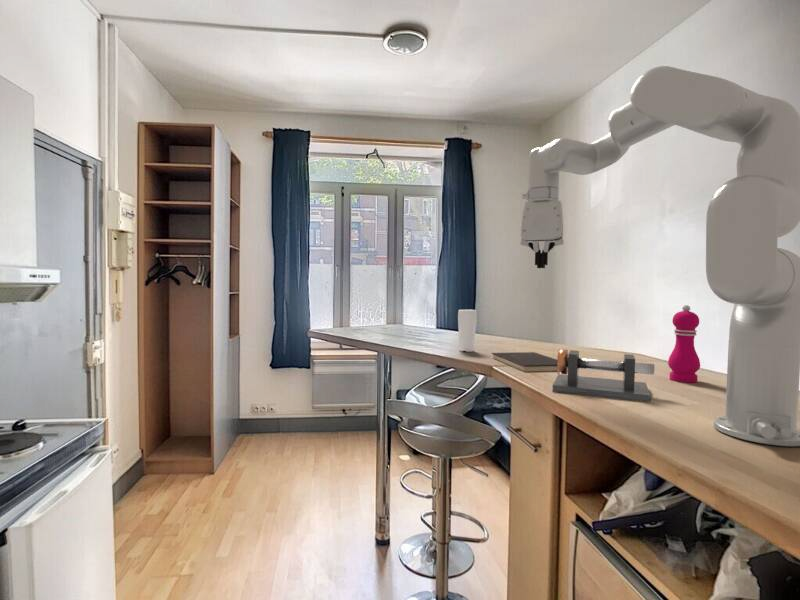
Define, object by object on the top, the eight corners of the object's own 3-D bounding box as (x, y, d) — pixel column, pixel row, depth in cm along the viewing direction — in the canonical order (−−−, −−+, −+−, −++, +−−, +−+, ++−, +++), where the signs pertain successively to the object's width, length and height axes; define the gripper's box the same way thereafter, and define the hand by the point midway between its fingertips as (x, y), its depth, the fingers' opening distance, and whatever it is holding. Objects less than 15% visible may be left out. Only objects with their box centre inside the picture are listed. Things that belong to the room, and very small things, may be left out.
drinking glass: (454, 349, 167) (455, 309, 166) (470, 349, 169) (471, 309, 168) (462, 352, 161) (463, 310, 160) (479, 352, 163) (480, 310, 162)
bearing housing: (645, 388, 109) (646, 353, 109) (650, 402, 97) (652, 362, 96) (558, 379, 118) (559, 347, 117) (552, 391, 105) (553, 355, 104)
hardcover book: (523, 373, 128) (523, 365, 128) (491, 359, 151) (491, 352, 151) (574, 372, 131) (574, 364, 131) (535, 358, 154) (536, 352, 154)
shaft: (652, 379, 105) (653, 354, 105) (654, 385, 100) (655, 358, 99) (559, 371, 114) (560, 347, 113) (556, 375, 108) (557, 350, 108)
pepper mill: (704, 384, 115) (708, 306, 115) (673, 382, 117) (676, 305, 116) (692, 378, 123) (695, 304, 122) (663, 376, 124) (666, 304, 123)
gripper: (511, 196, 116) (509, 267, 117) (573, 192, 110) (570, 267, 111) (516, 201, 123) (514, 268, 124) (574, 197, 117) (572, 268, 118)
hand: (541, 267), depth 118 cm, fingers closed
